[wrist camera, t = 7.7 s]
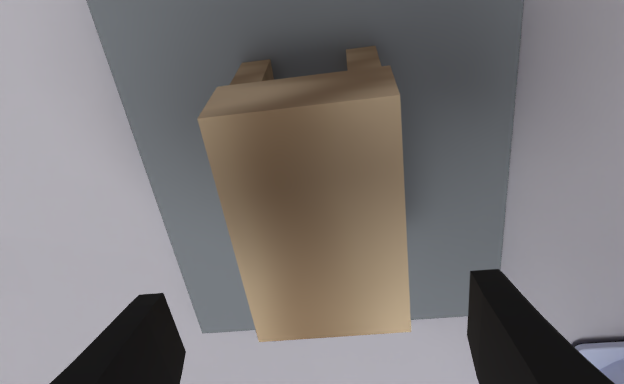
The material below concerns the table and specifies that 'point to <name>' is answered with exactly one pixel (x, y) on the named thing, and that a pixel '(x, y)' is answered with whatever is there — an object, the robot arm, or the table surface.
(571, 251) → the table surface
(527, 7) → the table surface
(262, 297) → the oak footstool
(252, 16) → the slate mat
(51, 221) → the table surface
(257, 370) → the table surface
